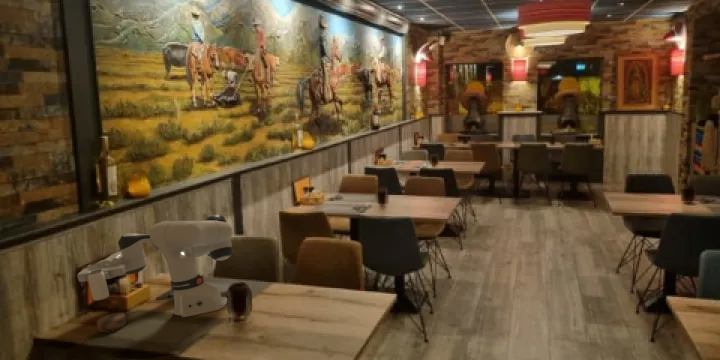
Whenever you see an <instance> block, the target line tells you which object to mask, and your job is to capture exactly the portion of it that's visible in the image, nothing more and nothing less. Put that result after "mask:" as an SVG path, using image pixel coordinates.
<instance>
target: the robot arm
mask: <svg viewBox="0 0 720 360" xmlns="http://www.w3.org/2000/svg"><path fill="white" fill-rule="evenodd" d="M232 237H233V229H232V226H231V225H230V224H229V223H228V222H227V219H226V217H225V216H224V215H222V214H212V215H210V216H207V217H206V218H205V220H165V221H164V220H163V221H160V222H157V223H155V224H154V225H152V226H151V228H150V231H149V232H140V233H137V232H136V233H135V232H129V233H125V234H122V235H121V236H120V238H119V239H118V242H117V245H118V248H119V250H120V251H116V252H114V253H112V254H110V255H109V256H107V257H106V258H105V259H103V260H100V261H98V262H95V263H91V264H88V265H87V267H86V268H83V269H82V270H80V271H79V272H78V273H77V280H78V281H79V283H82V282H88V283H89V280H88V275H89V274H88V273H89V272H91V271H94V270H100V269H101V270H102V271H103V272H104V276H105V279H106V280H110V279H113V278H116V277H120V276H121V277H122V276H124V275H135V274H137V273H140V272H141V271H143V270H144V269H145V268H146V266H147V259H146V255H145V250H144V246H143V243H153V244H154V245H155V246H156V247H157V248H158V250H160V252H161V254H162V256H163V257H164V259H165V261H166V265H167V268H168V271H169V275H170V287H171V291H172V294H173V299H174V300H173V301H174V307H173V308H174V309H173V314H174V315H175V316H179V317H181V318H188V317H191V316H196V315H202V314H206V313H211V312H216V311H220V310H221V309H223V308H224V307H225V306H226V305H227V303H228V301H227V300H228V298H227V297H226V296H222V295H221V292H220V289H218V288H217V287H216V286H213V285H211V284H209V283H207V282H205V280H204V278H205V276H204V275H205V274H202V275H201V274H199V272H198V269H197V265H196V259H197V258H200V257H204V256H206V255H207V256H208V257H210V258H211V259H213V260H214V261H225V260H227V259H229V258H230V257H232V255H233V252H234V249H233V248H234V247H232V245H233V244H232Z"/></svg>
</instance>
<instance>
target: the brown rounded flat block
mask: <svg viewBox="0 0 720 360" xmlns="http://www.w3.org/2000/svg"><path fill="white" fill-rule="evenodd" d="M126 322H127V318H126V314H125V312H113V313H111V314H108V315H104V316H101V317H100V318H98V320H96V326H97V329H98V333H101V332H106V333H109V332H108V331H112V330H115V331H117V330H116V329H118V328H120V327H122V326H124V325H125V324H126ZM126 325H127V324H126ZM126 325H125V326H126ZM125 326H124V327H125ZM122 328H123V327H122ZM120 329H121V328H120ZM118 330H119V329H118ZM112 332H113V331H112Z"/></svg>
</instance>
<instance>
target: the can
mask: <svg viewBox="0 0 720 360" xmlns="http://www.w3.org/2000/svg"><path fill="white" fill-rule="evenodd" d="M88 274H89V275H88V280H89V282H88V283H89V289H90V291H91V295H92V299H93V301H94V302H95V301H96V302H98V301H102V300H106V299H107V298H109V297H110V292H109V287H108V284H107V279H105V276H104V272H103V271H102V270H101V269H100V270H94V271H91V272H89V273H88Z"/></svg>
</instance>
